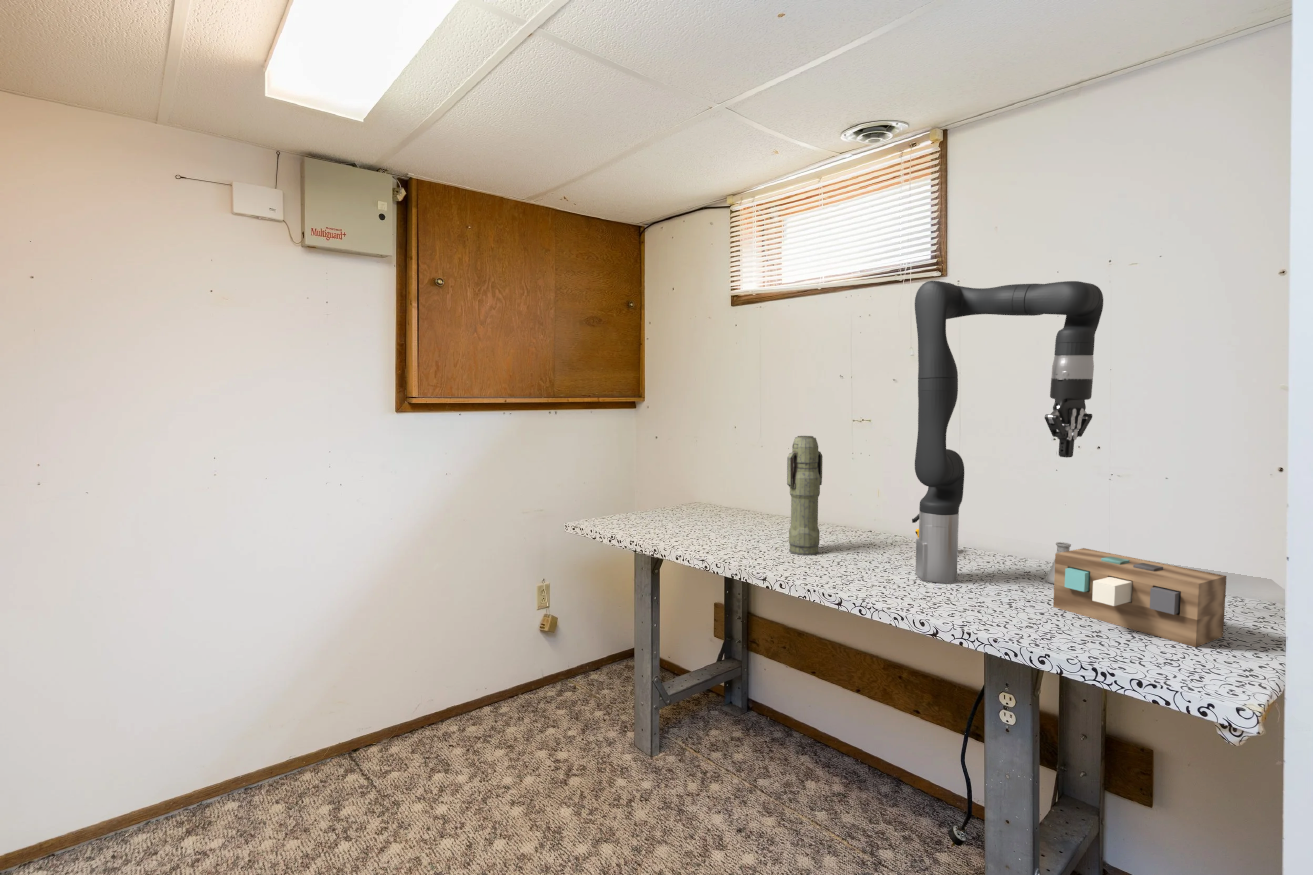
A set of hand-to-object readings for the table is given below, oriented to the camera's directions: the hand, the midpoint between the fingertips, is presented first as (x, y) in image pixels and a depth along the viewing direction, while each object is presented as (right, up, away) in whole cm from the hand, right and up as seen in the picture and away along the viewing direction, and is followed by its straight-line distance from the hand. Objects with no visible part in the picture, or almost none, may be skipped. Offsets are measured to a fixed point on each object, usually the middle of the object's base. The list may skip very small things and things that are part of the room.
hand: (1065, 456), depth 139 cm
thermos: (-45, -31, +54) cm, 76 cm away
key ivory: (+4, -29, -10) cm, 30 cm away
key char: (+12, -29, -14) cm, 35 cm away
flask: (+13, -33, +22) cm, 41 cm away
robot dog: (-9, -31, +49) cm, 59 cm away
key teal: (+5, -28, 0) cm, 28 cm away
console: (+10, -34, -6) cm, 36 cm away
